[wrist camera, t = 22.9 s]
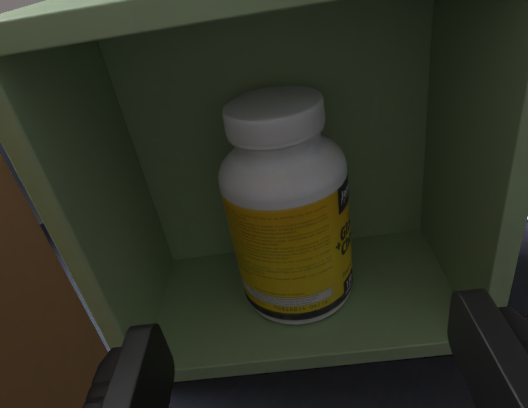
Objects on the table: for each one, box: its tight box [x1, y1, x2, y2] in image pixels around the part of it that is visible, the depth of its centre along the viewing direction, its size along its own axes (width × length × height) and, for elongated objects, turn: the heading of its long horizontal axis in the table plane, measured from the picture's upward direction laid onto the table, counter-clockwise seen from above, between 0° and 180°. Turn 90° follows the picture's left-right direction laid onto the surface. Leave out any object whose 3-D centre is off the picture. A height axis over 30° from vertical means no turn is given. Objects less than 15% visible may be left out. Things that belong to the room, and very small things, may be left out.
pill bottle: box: [218, 85, 353, 325], centre depth 22 cm, size 6×6×12 cm
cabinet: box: [0, 0, 528, 382], centre depth 21 cm, size 10×19×18 cm, turn 90°
